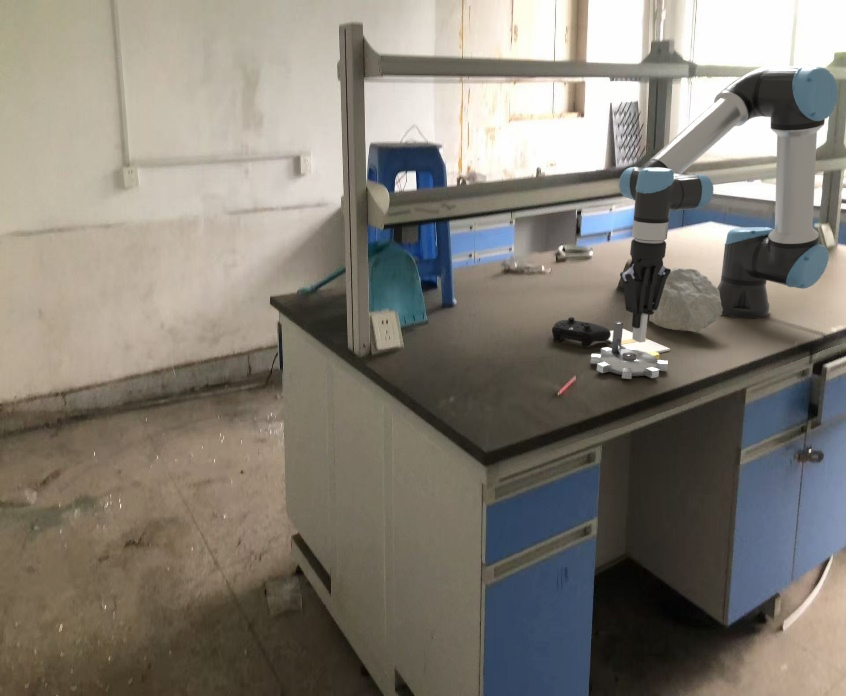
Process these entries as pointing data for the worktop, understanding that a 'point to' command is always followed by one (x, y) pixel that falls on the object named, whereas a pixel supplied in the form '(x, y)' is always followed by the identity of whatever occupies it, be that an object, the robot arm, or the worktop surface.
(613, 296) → the worktop surface
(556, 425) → the worktop surface
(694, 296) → the grey rock
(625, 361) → the sprocket
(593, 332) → the gaming controller
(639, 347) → the marked pad
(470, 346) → the worktop surface
